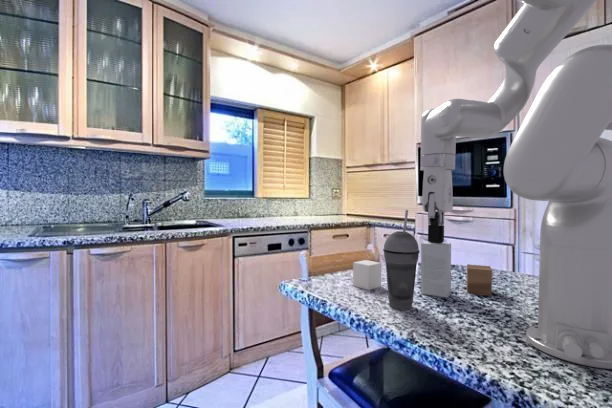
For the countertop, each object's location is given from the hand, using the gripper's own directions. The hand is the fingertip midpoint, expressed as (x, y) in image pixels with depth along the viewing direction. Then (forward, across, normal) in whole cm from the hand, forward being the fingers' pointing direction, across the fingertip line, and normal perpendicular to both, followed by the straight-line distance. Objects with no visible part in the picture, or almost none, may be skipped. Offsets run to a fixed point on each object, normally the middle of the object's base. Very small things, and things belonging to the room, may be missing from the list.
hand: (435, 242), depth 77 cm
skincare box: (+12, 0, 0) cm, 12 cm away
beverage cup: (+12, -14, +4) cm, 19 cm away
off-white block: (+12, -3, +16) cm, 20 cm away
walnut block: (+12, +8, -8) cm, 17 cm away
